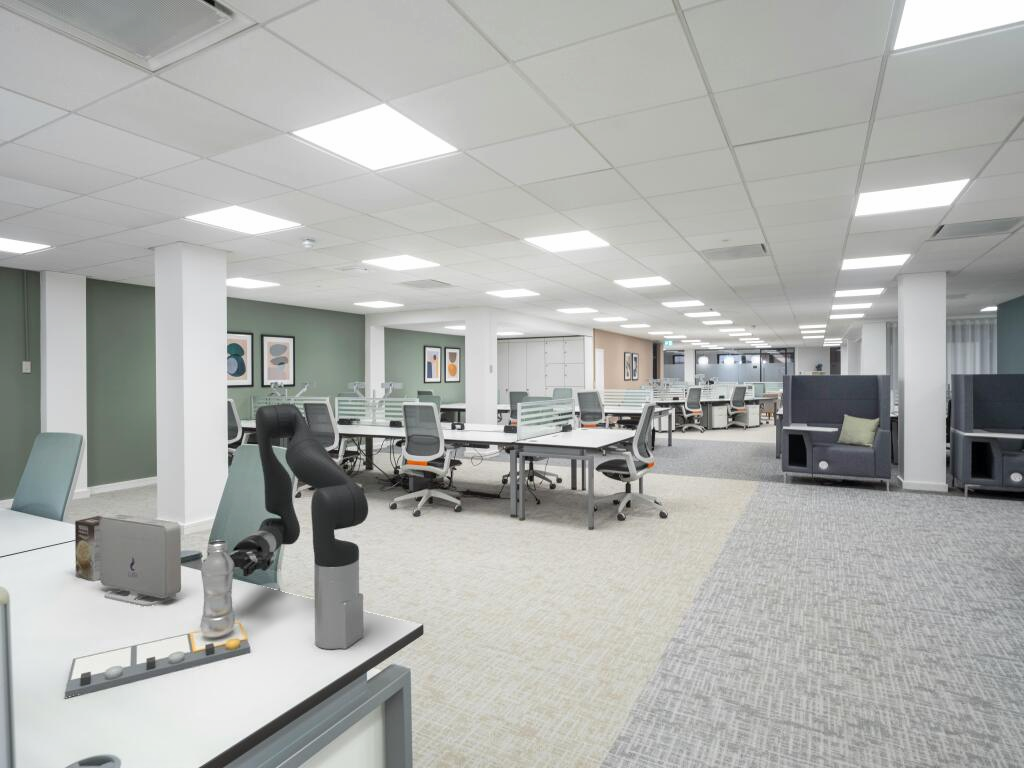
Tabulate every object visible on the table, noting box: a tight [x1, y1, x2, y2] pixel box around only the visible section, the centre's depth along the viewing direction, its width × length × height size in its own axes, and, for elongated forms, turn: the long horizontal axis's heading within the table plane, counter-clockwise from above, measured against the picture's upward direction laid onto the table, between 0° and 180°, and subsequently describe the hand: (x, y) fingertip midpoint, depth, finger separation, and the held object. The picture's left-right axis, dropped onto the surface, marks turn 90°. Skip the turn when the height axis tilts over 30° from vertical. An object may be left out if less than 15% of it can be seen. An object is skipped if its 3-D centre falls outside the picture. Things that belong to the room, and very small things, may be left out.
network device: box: [99, 513, 182, 607], centre depth 146 cm, size 26×9×20 cm, turn 68°
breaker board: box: [64, 621, 251, 698], centre depth 113 cm, size 30×14×3 cm, turn 123°
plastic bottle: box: [200, 539, 236, 638], centre depth 120 cm, size 6×7×20 cm
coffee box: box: [74, 515, 103, 582], centre depth 161 cm, size 9×6×16 cm
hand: (225, 572), depth 124 cm, fingers open, 8 cm apart
